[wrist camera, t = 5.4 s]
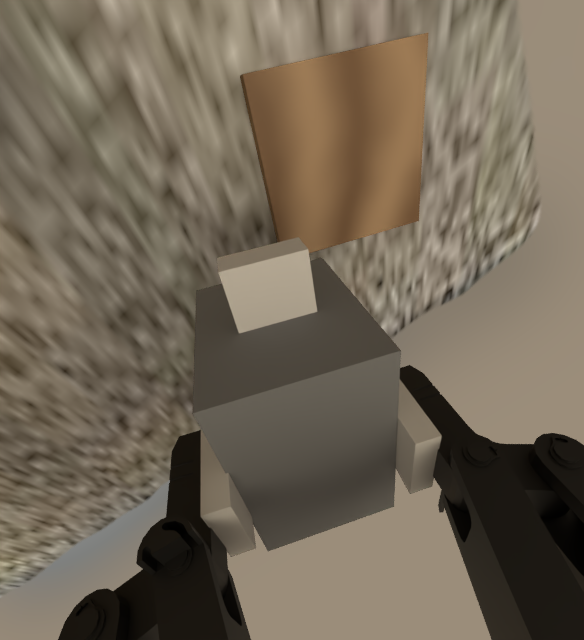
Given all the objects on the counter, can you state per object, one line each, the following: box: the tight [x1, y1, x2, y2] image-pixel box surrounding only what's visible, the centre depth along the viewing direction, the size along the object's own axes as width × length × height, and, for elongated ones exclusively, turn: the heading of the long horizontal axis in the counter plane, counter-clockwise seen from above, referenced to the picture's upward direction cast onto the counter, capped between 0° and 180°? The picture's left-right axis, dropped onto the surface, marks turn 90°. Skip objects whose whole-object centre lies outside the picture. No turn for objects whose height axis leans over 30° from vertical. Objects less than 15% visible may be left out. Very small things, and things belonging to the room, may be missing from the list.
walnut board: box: [240, 33, 428, 253], centre depth 23 cm, size 12×12×1 cm
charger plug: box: [193, 237, 401, 551], centre depth 11 cm, size 5×10×6 cm, turn 10°
